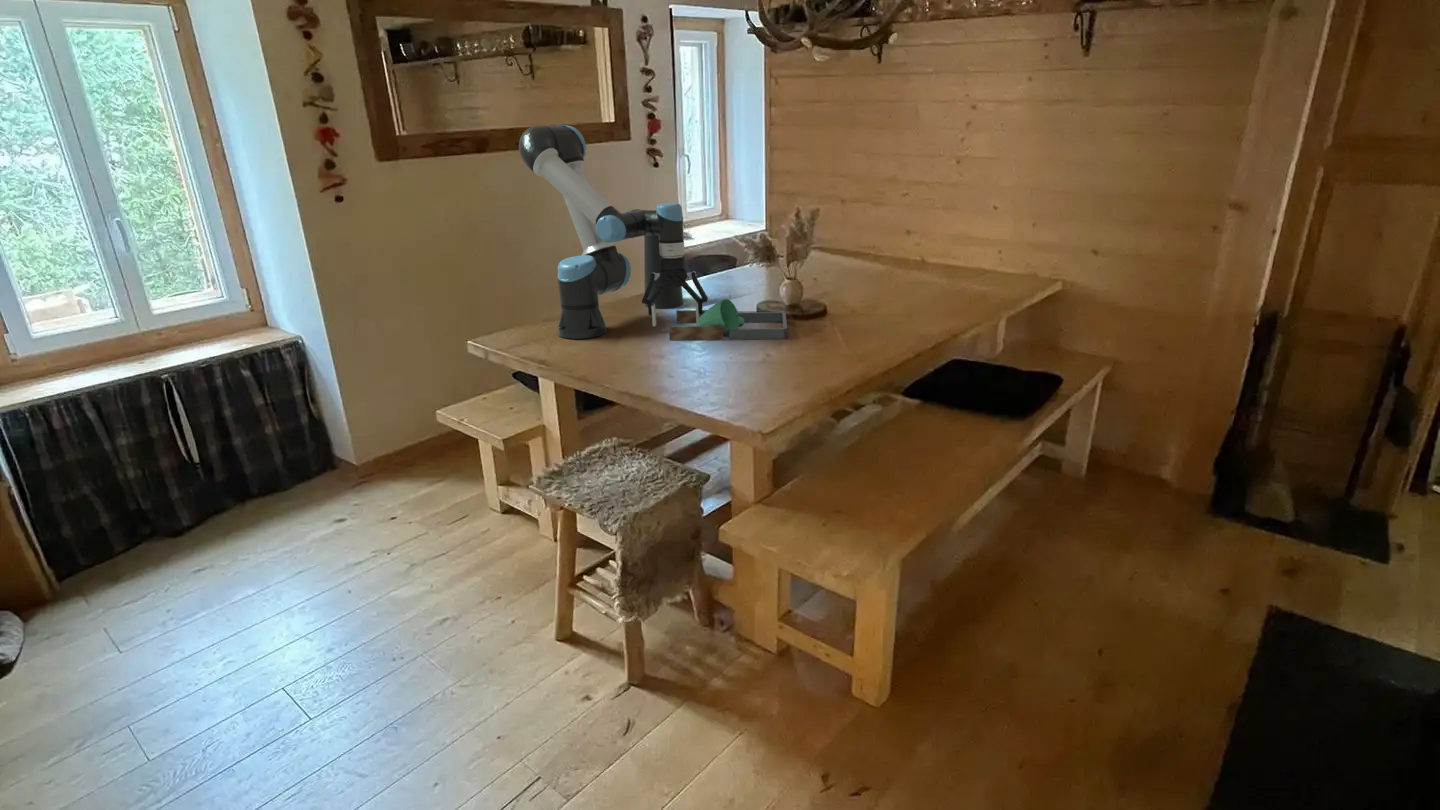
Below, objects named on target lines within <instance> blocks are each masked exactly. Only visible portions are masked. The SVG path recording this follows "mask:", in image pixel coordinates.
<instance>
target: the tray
mask: <svg viewBox="0 0 1440 810" xmlns="http://www.w3.org/2000/svg"><path fill="white" fill-rule="evenodd" d="M738 315H739V317H742V318H743V319H744V323H782V327H779V328H778V327H774V328H773V327H771V328H770V327H769V328H762V327H761V328H737V329H730V331H729V340H731V341H732V340H787V339H788V324H787V315H786V311H762V312H761V311H759V312H756V311H755V312H753V311H752V312H750V311H749V312H738Z"/></svg>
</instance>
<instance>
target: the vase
mask: <svg viewBox="0 0 1440 810" xmlns="http://www.w3.org/2000/svg"><path fill="white" fill-rule="evenodd" d="M643 238H644V240H643V243H644V244H643V245H644V247H643V249H644V251H643V252H644V256H643V259H644V260H643V261H644V266H643V267H644V268H643V269H644V270H643V271H644V278H643V280H644V285H643V286H644V293H645V292H646V290H647V287H648V285H649V283H650V277H651V273H652V272H655V273H660V272H661V266H660V258H661V257H662V256H661V255H660V250H659V236H654V235H644V236H643ZM662 283H663V281H662V280H661V279H660V277H658V279H657V280H655V282H654V284H653V287H652V289H651V291H650V294H649V296H648V298H647V299H648V300H650V299H651V298H652V296H653V295H654V294H655V292H656V291H657V290H658V288H659V287H660V286H661V284H662ZM652 304H655V310H669V309H675V308H679V307H682V306H683V305H684V297H683V287H682V286H680V287H667V286H665V287H664V289H663V290H662V291H661V293H660V294H659V295H658V296H657V298H656V299H655V300H654V302H653V303H652ZM644 306H645V308H648V305H647V304H644Z"/></svg>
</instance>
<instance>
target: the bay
mask: <svg viewBox="0 0 1440 810" xmlns="http://www.w3.org/2000/svg"><path fill="white" fill-rule="evenodd" d="M707 310H708V309H703V312H702V314H703V313H704V312H706V311H707ZM675 313H676V324H696V309H692V310H676V311H675ZM702 314H699V318H700V316H701V315H702ZM668 334H669V341H713V340H715V341H719V340H720V341H724V332H723V326H700V325H685V326H684V325H683V326H682V325H679V326H677V325H676V326H675V325H674V326H669V327H668Z"/></svg>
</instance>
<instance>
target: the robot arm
mask: <svg viewBox="0 0 1440 810" xmlns="http://www.w3.org/2000/svg"><path fill="white" fill-rule="evenodd" d="M586 151H587V144H586V141H585V138H584V136H583V134H582V133H581V132H580V131H579V130H578V129H577V128H576V127H573V126H570V125H565V124H556V125H534V126H531V127H529V128H527V129H526V130H524V132H522V134H521V136H520V138H519V141H518V152H519V155H520V158H521V160H522V161H523V163H524V164H525V165H526V167H527V168H529V170H530V171H531V172H532V173H533V174H534V175H536V176H537V177H543V178H544V179H545V180H546V181H547V182H548V183H550V185H551V186H552V187H554V189H556V190H557V191H558V192H559V193H560V194H561V195H562V196H563V200H564V202H565V204H566V207H567V209H568V213H569V215H570V218H571V220H572V223H573V225H574V229H575V231H576V233H577V236H578V239H579V242H580V245H581V247H582V250H583V252H582V254H581V255H576V256H570V257H567V258H564V259H562V260H561V261H560V262H559V263H558V265H557V279H558V287H559V288H558V291H559V298H560V299H559V300H560V309H561V310H560V311H561V312H560V316H559V320H558V323H557V324H558V325H557V335H558V336H559V337H561V338H564V339H572V340H576V339H580V340H581V339H582V340H583V339H590V338H595V337H600V336H602V335H604V334H606V333H607V323H606V321H605V319H604V316H603V314H602V312H601V309H600V303H599V296H601V295H604V294H607V293H612V292H615V291H618V290H620V289H622V288H624V287H625V286H626V285H627V284H628V283H629V280H630V278H631V273H632V272H631V271H632V270H631V269H632V268H631V263H630V261H629V259H628V258H627V256H626V255H624V254H623V253H621V252H619V251H618V249H617V247H616V245H615V244H614V243H616V242H617V243H618V242H621V241H624V240H629V239H634V238H637V237H638V238H639V237H642V236H643V237H644V235H654V236H659V250H660V255H661V256H662V257H661V258H660V266H661V272H660V273H655V272H652V273H651V277H650V283H649V285H648V287H647V290H646V292H645V291H644V294H643V297H642V299H641V304H644V305H645V304H647V305H648V307H647V309H648V310H647V311H648V312H647V313H648V316H651V319H652V322H651V323H652V327H657V313H656V312H657V311H656V309H655V304H652V303H653V302H654V300H655V299H656V298H657V296H658V295H659V294H660V293H661V291H662V290H663V289H664V287H665V286H667V287H680V286H682V289H684V290H685V291H686V292H687V293H688V295H690V297H691V298H692V299H693V300H694V301H695V302H696V303H695V310H696V323H695V324H696V325H695V326H700V325H699V314H702V312H703V310H704V309H703V304H704V303H707V302H708V300H709V297H708V295H707V294H706V292H705V290H704V288H703V286H702V285H701V284H702V283H700V281H699V280H698V275H697V272H696V271H695V270H693V271H691V272H687V270H686V269H687V268H686V256H684V255H685V253H686V252H685V251H686V250H685V240H684V216H683V215H684V214H683V208H682V204H680V203H678V202H665V203H659V204H657V206H656V209H655V210H654V209H653V210H652V209H641V208H639V209H638V208H637V209H629V210H627V211H626V212H620V211H619V210H618V209H617V208H615V207H614V206H613V205H612V204H611V203H610V202H609V201H608V200H606V198H604V197H603V196H602V195H601V194H600V193H599V192H598V191H597V190H595V188H593V187H592V186H591V185H590V184H589V183H588V181H587V179H586V176H585V173H584V170H583V168H584V166H585V164H586V161H585V159H584V158H585V157H586ZM658 277H660V279H661V280H662V281H663V283H662V284H661V286H660V287H659V288H658V290H657V291H656V292H655V294H654V295H653V296H652V298H651V299H650V300H648V299H647V298H648V296H649V294H650V291H651V289H652V287H653V284H654V282H655V280H657V279H658ZM688 277H689V279H690V280H692V282H693V284H694V286H695V288H696V289H697V291H698V293H699V294H697V292H696V291H695V290H694V289H693V288H692V287H691V286H690V285H689V284H688V282H687V281H686V279H687V278H688ZM699 295H700V296H699Z"/></svg>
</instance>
